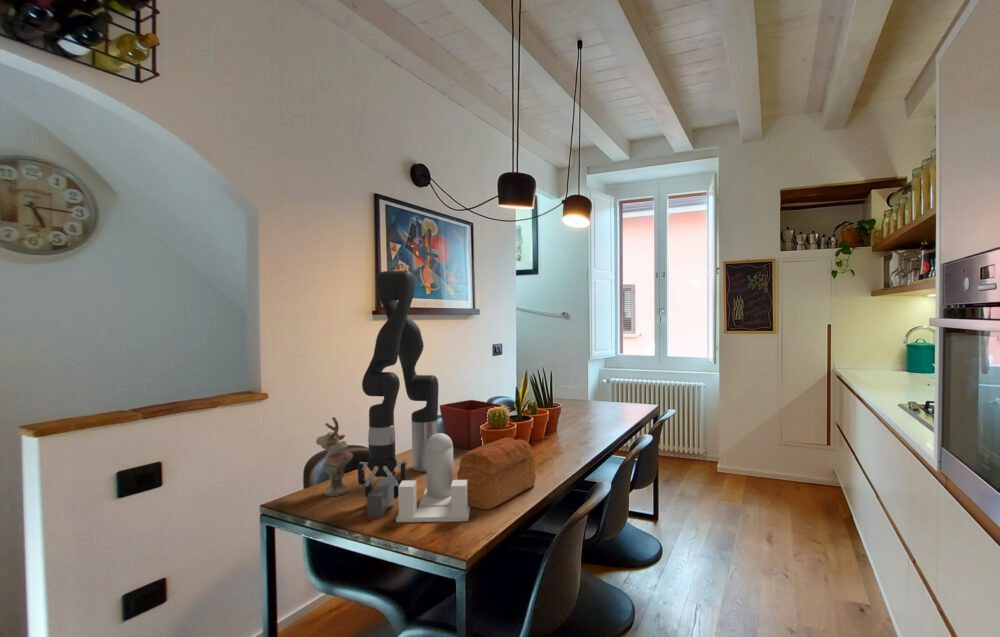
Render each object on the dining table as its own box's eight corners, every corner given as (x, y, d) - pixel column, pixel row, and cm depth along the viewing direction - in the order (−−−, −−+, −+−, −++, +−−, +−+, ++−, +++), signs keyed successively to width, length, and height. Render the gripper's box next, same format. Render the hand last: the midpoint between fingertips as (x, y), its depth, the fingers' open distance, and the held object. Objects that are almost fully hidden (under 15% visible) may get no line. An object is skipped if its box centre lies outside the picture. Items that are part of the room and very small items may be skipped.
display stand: (411, 491, 153) (410, 430, 153) (473, 491, 153) (472, 429, 153) (396, 522, 131) (395, 449, 130) (468, 521, 130) (466, 448, 130)
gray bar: (383, 494, 152) (383, 474, 152) (396, 494, 152) (396, 474, 152) (367, 518, 134) (367, 496, 134) (382, 518, 134) (381, 495, 134)
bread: (451, 502, 144) (450, 450, 144) (503, 477, 166) (503, 432, 166) (490, 512, 136) (489, 458, 136) (539, 484, 158) (539, 437, 158)
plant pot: (502, 443, 209) (502, 404, 209) (469, 453, 196) (469, 410, 196) (471, 436, 223) (471, 399, 223) (438, 445, 209) (438, 405, 209)
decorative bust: (312, 482, 159) (320, 407, 157) (352, 486, 161) (361, 411, 159) (302, 498, 148) (310, 417, 146) (345, 501, 150) (354, 421, 148)
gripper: (409, 437, 147) (410, 493, 147) (360, 438, 147) (361, 493, 147) (404, 444, 139) (405, 502, 139) (353, 444, 139) (354, 503, 139)
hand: (382, 498), depth 143 cm, fingers open, 7 cm apart
